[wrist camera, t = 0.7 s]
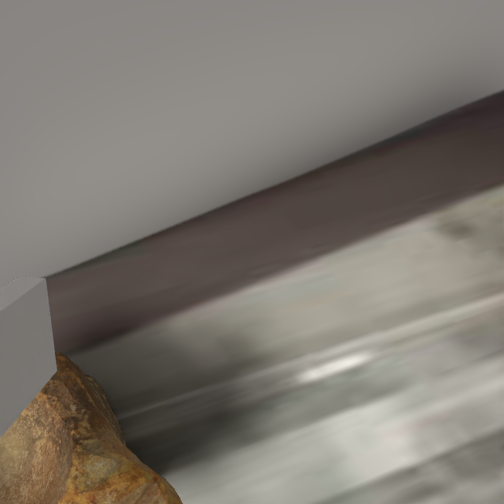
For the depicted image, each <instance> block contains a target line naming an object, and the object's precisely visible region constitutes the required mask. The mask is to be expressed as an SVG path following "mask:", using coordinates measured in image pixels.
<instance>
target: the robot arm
mask: <svg viewBox="0 0 504 504" xmlns="http://www.w3.org/2000/svg"><path fill="white" fill-rule="evenodd" d="M56 372H57V366H56V358H55V350H54V342H53V334H52V326H51V318H50V310H49V302H48V294H47V286H46V278H16V279H14V280H13V281H11V282H10V283H8V284H7V285H5V286H4V287H2V288H1V289H0V438H1V437H2V436H3V434H4V433H5V432H6V431H7V430H8V428H9V427H10V426H11V425H12V424H13V423H14V421H15V420H16V419H17V418H18V417H19V415H20V414H21V413H22V412H23V411H24V410H25V408H26V407H27V406H28V405H29V404H30V402H31V401H32V400H33V399H34V398H35V396H36V395H37V394H38V393H39V392H40V391H41V389H42V388H43V387H44V386H45V385H46V383H47V382H48V381H49V380H50V379H51V377H52V376H53V375H54V374H55V373H56Z"/></svg>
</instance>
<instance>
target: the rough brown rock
mask: <svg viewBox="0 0 504 504" xmlns="http://www.w3.org/2000/svg"><path fill="white" fill-rule="evenodd" d="M55 358H56V366H57V372H56V373H55V374H54V375H53V376H52V377H51V379H50V380H49V381H48V382H47V383H46V385H45V386H44V387H43V388H42V389H41V391H40V392H39V393H38V394H37V395H36V396H35V398H34V399H33V400H32V401H31V402H30V404H29V405H28V406H27V407H26V408H25V410H24V411H23V412H22V413H21V414H20V415H19V417H18V418H17V419H16V420H15V421H14V423H13V424H12V425H11V426H10V427H9V428H8V430H7V431H6V432H5V433H4V434H3V436H2V437H1V438H0V504H182V502H181V500H180V497H179V496H178V495H177V493H176V491H175V489H174V488H173V487H172V486H171V485H170V484H169V483H168V482H167V481H166V480H165V479H164V478H163V477H160V476H159V475H158V474H157V473H156V472H154V471H153V470H152V469H151V468H150V467H148V466H147V465H145V464H143V463H142V462H141V461H140V460H139V459H138V458H137V456H136V455H135V454H134V453H132V452H131V451H130V450H129V449H128V448H127V447H126V442H125V438H124V434H123V432H122V430H121V427H120V425H119V422H118V420H117V419H116V417H115V415H114V414H113V412H112V410H111V407H110V404H109V402H108V400H107V397H106V395H105V392H104V390H103V388H102V387H101V386H100V385H99V383H98V382H97V381H96V380H95V379H94V378H92V377H90V376H88V375H85V374H83V373H82V371H81V370H80V369H79V367H78V366H77V365H75V364H74V363H73V362H71V360H70V359H69V358H68V357H66V356H64V355H63V354H61V353H59V352H55Z"/></svg>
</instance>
